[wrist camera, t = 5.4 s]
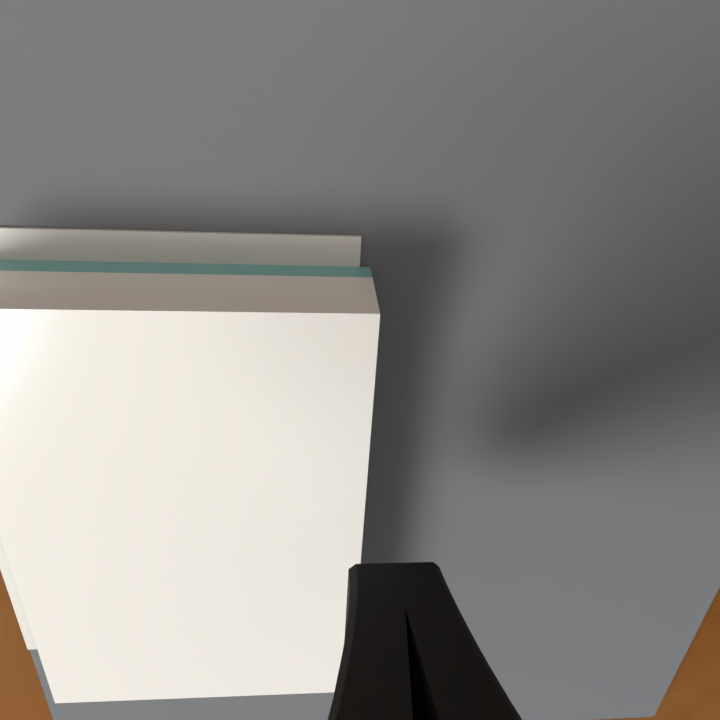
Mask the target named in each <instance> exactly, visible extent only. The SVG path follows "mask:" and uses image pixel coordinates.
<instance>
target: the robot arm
mask: <svg viewBox="0 0 720 720" xmlns="http://www.w3.org/2000/svg"><path fill="white" fill-rule="evenodd" d="M328 720H522V719H521V717H520V715H519V714H518V712H517V711H516V709H515V707H514V706H513V704H512V703H511V701H510V699H509V698H508V696H507V694H506V693H505V691H504V689H503V688H502V686H501V684H500V683H499V681H498V679H497V678H496V676H495V674H494V673H493V671H492V669H491V667H490V666H489V664H488V662H487V661H486V659H485V657H484V655H483V654H482V652H481V650H480V648H479V646H478V645H477V643H476V641H475V639H474V637H473V635H472V633H471V632H470V630H469V628H468V626H467V624H466V622H465V620H464V618H463V616H462V614H461V612H460V610H459V609H458V607H457V605H456V602H455V600H454V598H453V596H452V594H451V592H450V590H449V588H448V586H447V583H446V581H445V579H444V577H443V574H442V572H441V570H440V567H439V566H438V565H436V564H435V563H434V562H409V563H365V564H355V565H354V566H352V567H351V568H349V570H348V587H347V604H346V622H345V639H344V647H343V653H342V657H341V662H340V667H339V672H338V677H337V682H336V687H335V692H334V696H333V701H332V705H331V709H330V713H329V717H328Z"/></svg>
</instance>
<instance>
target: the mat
mask: <svg viewBox="0 0 720 720" xmlns="http://www.w3.org/2000/svg"><path fill="white" fill-rule="evenodd" d="M0 260H50V261H101V262H152V263H202V264H253V265H304V266H355V267H370V268H371V272H372V277H373V282H374V287H375V291H376V296H377V301H378V305H379V310H380V324H379V337H378V349H377V362H376V375H375V387H374V400H373V412H372V425H371V438H370V450H369V463H368V476H367V488H366V501H365V513H364V526H363V539H362V551H361V564H365V563H409V562H434V563H435V564H436V565H438V566H439V567H440V570H441V572H442V574H443V577H444V579H445V581H446V583H447V586H448V588H449V590H450V592H451V594H452V596H453V598H454V600H455V602H456V605H457V607H458V609H459V610H460V612H461V614H462V616H463V618H464V620H465V622H466V624H467V626H468V628H469V630H470V632H471V633H472V635H473V637H474V639H475V641H476V643H477V645H478V646H479V648H480V650H481V652H482V654H483V655H484V657H485V659H486V661H487V662H488V664H489V666H490V667H491V669H492V671H493V673H494V674H495V676H496V678H497V679H498V681H499V683H500V684H501V686H502V688H503V689H504V691H505V693H506V694H507V696H508V698H509V699H510V701H511V703H512V704H513V706H514V707H515V709H516V711H517V712H518V714H519V715H520V717H521V719H522V720H593V719H616V718H638V717H654V715H655V713H656V711H657V709H658V707H659V705H660V703H661V701H662V699H663V697H664V695H665V693H666V691H667V689H668V687H669V685H670V684H671V682H672V680H673V678H674V676H675V674H676V672H677V670H678V668H679V666H680V664H681V662H682V660H683V658H684V656H685V654H686V652H687V650H688V648H689V646H690V644H691V642H692V640H693V638H694V636H695V634H696V633H697V631H698V629H699V627H700V625H701V623H702V621H703V619H704V617H705V615H706V613H707V611H708V609H709V607H710V605H711V603H712V601H713V599H714V597H715V595H716V593H717V591H718V589H719V587H720V0H0ZM0 570H1V572H2V575H3V578H4V581H5V584H6V587H7V590H8V593H9V596H10V599H11V602H12V605H13V608H14V611H15V614H16V617H17V619H18V622H19V625H20V628H21V631H22V634H23V637H24V640H25V643H26V646H27V649H29V650H30V653H31V655H32V658H33V661H34V664H35V667H36V670H37V673H38V676H39V679H40V682H41V685H42V688H43V691H44V694H45V697H46V700H47V703H48V706H49V709H50V712H51V715H52V717H53V720H328V717H329V713H330V709H331V705H332V701H333V696H334V692H331V693H306V694H280V695H255V696H229V697H204V698H178V699H153V700H127V701H102V702H76V703H55V702H54V699H53V696H52V693H51V690H50V686H49V683H48V680H47V677H46V674H45V671H44V668H43V665H42V662H41V659H40V656H39V653H38V650H37V647H36V644H35V641H34V638H33V635H32V632H31V629H30V626H29V623H28V619H27V616H26V613H25V610H24V607H23V604H22V601H21V598H20V595H19V592H18V589H17V586H16V583H15V580H14V577H13V574H12V571H11V568H10V565H9V562H8V559H7V556H6V552H5V549H4V546H3V543H2V540H1V537H0Z"/></svg>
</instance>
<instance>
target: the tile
mask: <svg viewBox="0 0 720 720" xmlns="http://www.w3.org/2000/svg"><path fill="white" fill-rule="evenodd" d="M379 324H380V310H379V305H378V301H377V296H376V291H375V287H374V282H373V277H372V272H371V268H370V267H355V266H304V265H253V264H202V263H152V262H101V261H50V260H0V537H1V540H2V543H3V546H4V549H5V552H6V556H7V559H8V562H9V565H10V568H11V571H12V574H13V577H14V580H15V583H16V586H17V589H18V592H19V595H20V598H21V601H22V604H23V607H24V610H25V613H26V616H27V619H28V623H29V626H30V629H31V632H32V635H33V638H34V641H35V644H36V647H37V650H38V653H39V656H40V659H41V662H42V665H43V668H44V671H45V674H46V677H47V680H48V683H49V686H50V690H51V693H52V696H53V699H54V702H55V703H76V702H102V701H127V700H153V699H178V698H204V697H229V696H255V695H280V694H306V693H331V692H335V687H336V682H337V677H338V672H339V667H340V662H341V657H342V653H343V647H344V639H345V622H346V604H347V587H348V570H349V568H351V567H352V566H354V565H355V564H361V551H362V539H363V526H364V513H365V501H366V488H367V476H368V463H369V450H370V438H371V425H372V412H373V400H374V387H375V375H376V362H377V349H378V337H379Z"/></svg>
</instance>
